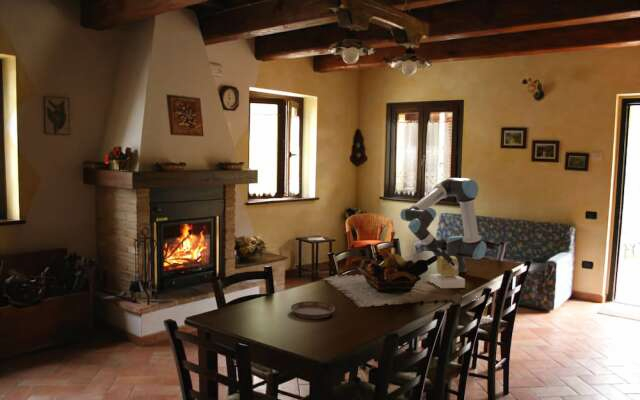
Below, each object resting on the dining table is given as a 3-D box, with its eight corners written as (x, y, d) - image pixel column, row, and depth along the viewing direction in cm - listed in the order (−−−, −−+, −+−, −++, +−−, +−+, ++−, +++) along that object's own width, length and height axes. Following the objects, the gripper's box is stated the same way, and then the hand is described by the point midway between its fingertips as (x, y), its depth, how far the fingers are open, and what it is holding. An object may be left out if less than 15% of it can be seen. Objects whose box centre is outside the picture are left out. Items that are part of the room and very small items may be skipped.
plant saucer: (319, 323, 236) (319, 316, 236) (281, 315, 247) (282, 308, 247) (342, 312, 254) (342, 306, 254) (306, 305, 265) (306, 298, 264)
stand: (452, 281, 325) (453, 273, 324) (464, 287, 310) (465, 279, 310) (429, 282, 321) (430, 274, 321) (440, 288, 307) (441, 279, 306)
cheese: (458, 276, 310) (459, 259, 309) (440, 275, 310) (441, 258, 309) (453, 272, 321) (454, 255, 320) (436, 271, 321) (436, 255, 320)
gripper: (416, 242, 322) (438, 267, 327) (433, 249, 299) (457, 275, 304) (425, 233, 323) (447, 258, 327) (442, 239, 300) (466, 266, 304)
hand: (452, 266), depth 316 cm, fingers closed on cheese, 11 cm apart
